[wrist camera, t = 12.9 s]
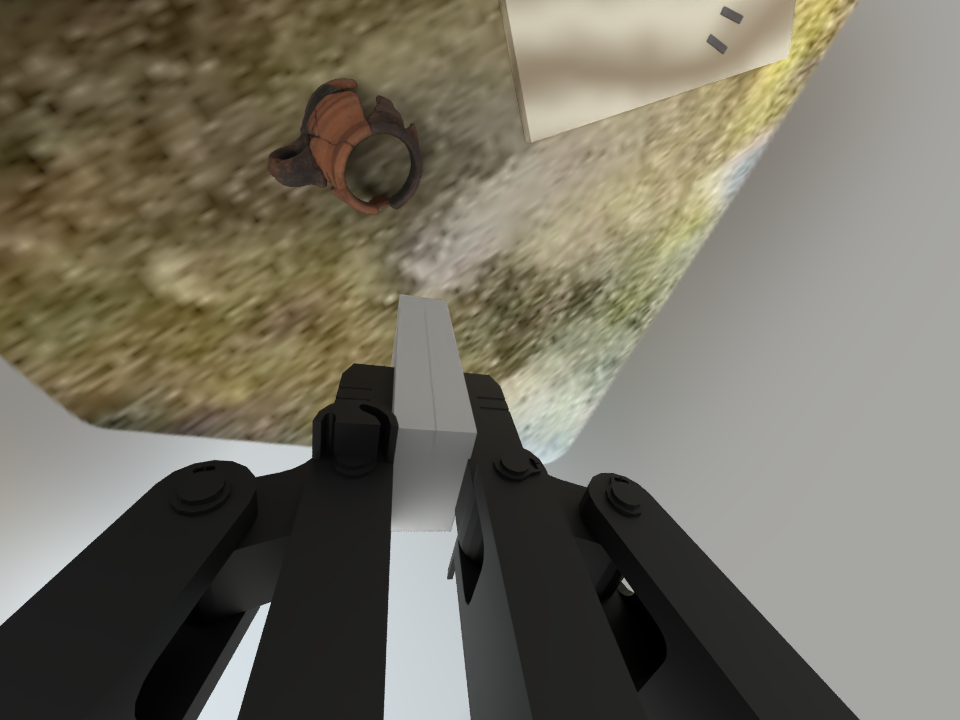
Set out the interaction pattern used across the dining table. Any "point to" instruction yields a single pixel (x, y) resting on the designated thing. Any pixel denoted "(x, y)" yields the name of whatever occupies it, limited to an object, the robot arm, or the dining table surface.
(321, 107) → the pottery mug
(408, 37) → the dining table surface
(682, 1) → the dial board
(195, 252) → the dining table surface
